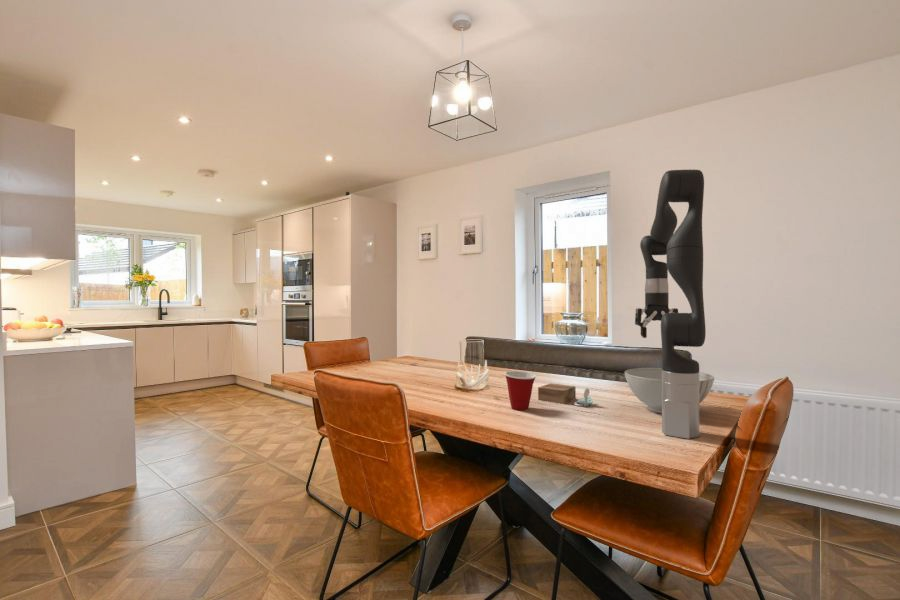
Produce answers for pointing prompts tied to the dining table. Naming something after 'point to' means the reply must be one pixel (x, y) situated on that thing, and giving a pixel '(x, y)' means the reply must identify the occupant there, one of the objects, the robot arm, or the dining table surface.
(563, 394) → the walnut block
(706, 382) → the decorative bowl
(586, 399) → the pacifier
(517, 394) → the plastic cup
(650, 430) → the dining table surface
